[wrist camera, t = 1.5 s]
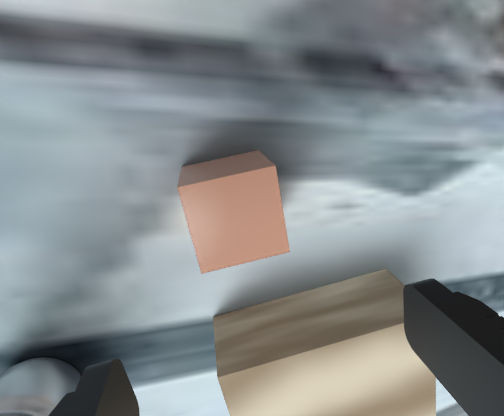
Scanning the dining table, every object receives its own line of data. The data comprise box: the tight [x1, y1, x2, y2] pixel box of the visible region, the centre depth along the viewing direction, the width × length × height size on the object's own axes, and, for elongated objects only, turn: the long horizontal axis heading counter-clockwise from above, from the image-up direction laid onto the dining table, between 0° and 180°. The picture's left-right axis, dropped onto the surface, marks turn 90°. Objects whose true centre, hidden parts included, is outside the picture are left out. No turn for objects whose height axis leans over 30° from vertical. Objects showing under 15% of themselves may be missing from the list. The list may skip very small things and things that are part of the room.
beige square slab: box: [213, 269, 436, 416], centre depth 25 cm, size 14×14×6 cm
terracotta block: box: [177, 150, 290, 273], centre depth 19 cm, size 5×5×5 cm
